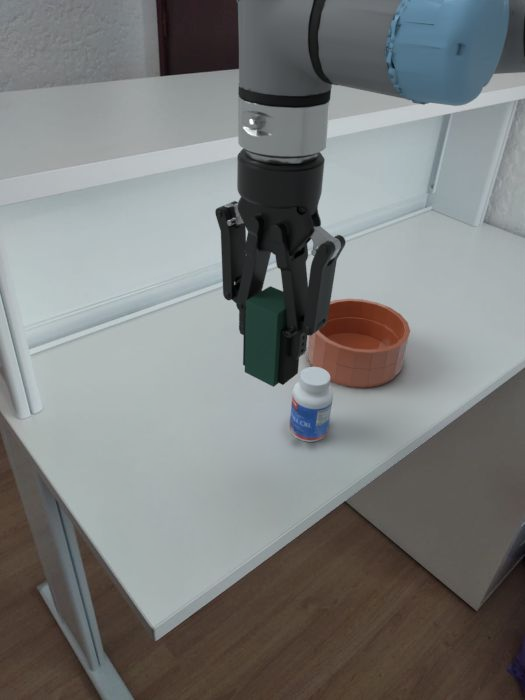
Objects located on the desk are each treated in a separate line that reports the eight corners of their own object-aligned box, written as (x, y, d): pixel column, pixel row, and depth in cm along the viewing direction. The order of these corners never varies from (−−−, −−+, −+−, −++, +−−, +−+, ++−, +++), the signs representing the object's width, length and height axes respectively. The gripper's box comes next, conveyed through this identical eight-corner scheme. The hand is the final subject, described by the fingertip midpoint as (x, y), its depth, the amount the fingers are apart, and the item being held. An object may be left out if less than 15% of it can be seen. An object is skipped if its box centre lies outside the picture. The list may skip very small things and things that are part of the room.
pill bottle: (281, 427, 81) (285, 372, 76) (308, 411, 84) (314, 357, 79) (308, 449, 78) (315, 393, 73) (335, 431, 81) (344, 377, 76)
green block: (295, 369, 63) (301, 298, 58) (273, 387, 61) (277, 314, 56) (266, 355, 65) (270, 285, 60) (244, 372, 63) (245, 300, 58)
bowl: (418, 357, 97) (426, 321, 93) (371, 402, 87) (378, 365, 83) (339, 323, 104) (344, 289, 100) (287, 361, 94) (290, 325, 90)
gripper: (178, 139, 51) (189, 354, 65) (343, 185, 43) (316, 421, 56) (233, 124, 56) (232, 326, 70) (391, 162, 48) (355, 384, 61)
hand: (270, 368), depth 63 cm, fingers closed on green block, 4 cm apart
